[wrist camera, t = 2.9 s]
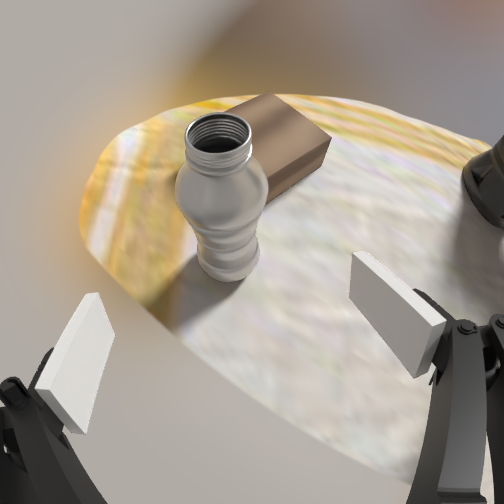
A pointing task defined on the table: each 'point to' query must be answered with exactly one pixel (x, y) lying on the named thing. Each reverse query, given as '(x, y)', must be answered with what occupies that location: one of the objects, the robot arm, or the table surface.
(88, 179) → the table surface
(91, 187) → the table surface
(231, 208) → the plastic bottle
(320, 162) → the walnut block
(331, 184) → the table surface
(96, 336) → the robot arm
